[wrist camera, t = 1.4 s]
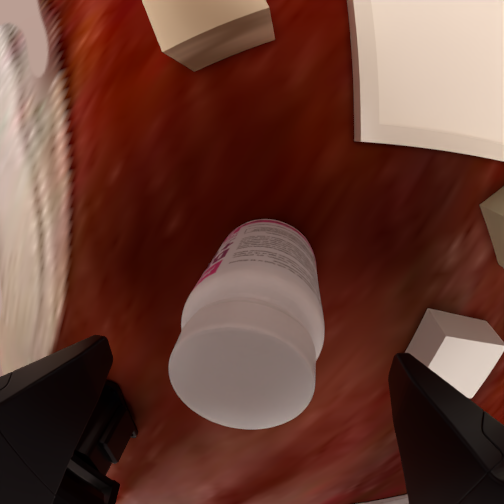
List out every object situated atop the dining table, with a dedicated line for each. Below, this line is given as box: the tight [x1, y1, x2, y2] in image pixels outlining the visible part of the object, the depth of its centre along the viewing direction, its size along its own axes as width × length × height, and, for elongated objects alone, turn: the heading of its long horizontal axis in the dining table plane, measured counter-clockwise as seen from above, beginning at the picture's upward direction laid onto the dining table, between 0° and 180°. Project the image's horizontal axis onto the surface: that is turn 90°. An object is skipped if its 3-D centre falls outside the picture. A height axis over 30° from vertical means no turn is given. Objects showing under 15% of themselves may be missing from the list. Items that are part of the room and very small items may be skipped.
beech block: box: [142, 0, 275, 72], centre depth 10 cm, size 4×4×4 cm
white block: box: [405, 308, 504, 398], centre depth 15 cm, size 5×4×3 cm
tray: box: [347, 0, 504, 162], centre depth 10 cm, size 12×12×1 cm
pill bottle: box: [168, 219, 324, 429], centre depth 12 cm, size 5×5×8 cm
